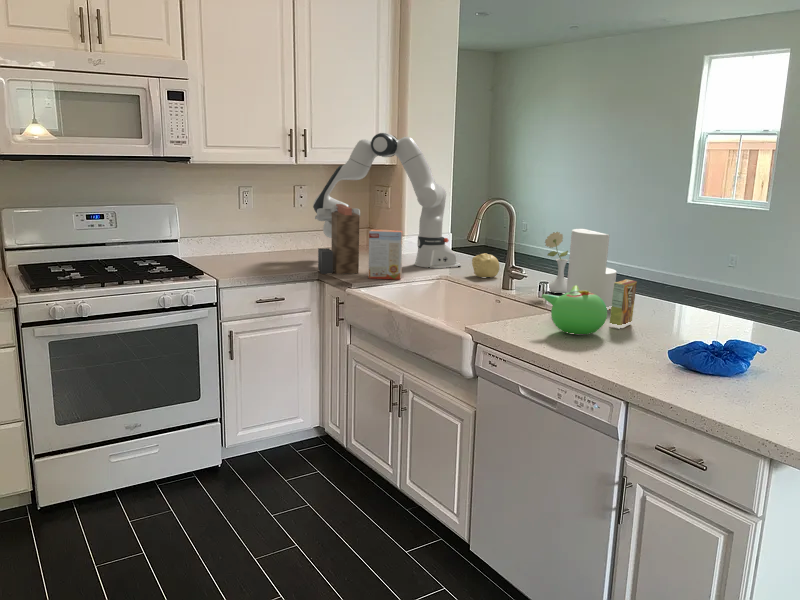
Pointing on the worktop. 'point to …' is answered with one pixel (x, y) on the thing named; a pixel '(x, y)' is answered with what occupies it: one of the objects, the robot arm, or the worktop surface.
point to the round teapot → (577, 311)
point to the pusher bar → (344, 209)
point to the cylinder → (591, 264)
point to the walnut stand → (345, 242)
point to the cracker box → (385, 254)
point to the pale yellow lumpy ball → (485, 265)
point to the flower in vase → (559, 283)
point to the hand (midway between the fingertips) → (341, 207)
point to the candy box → (623, 302)
